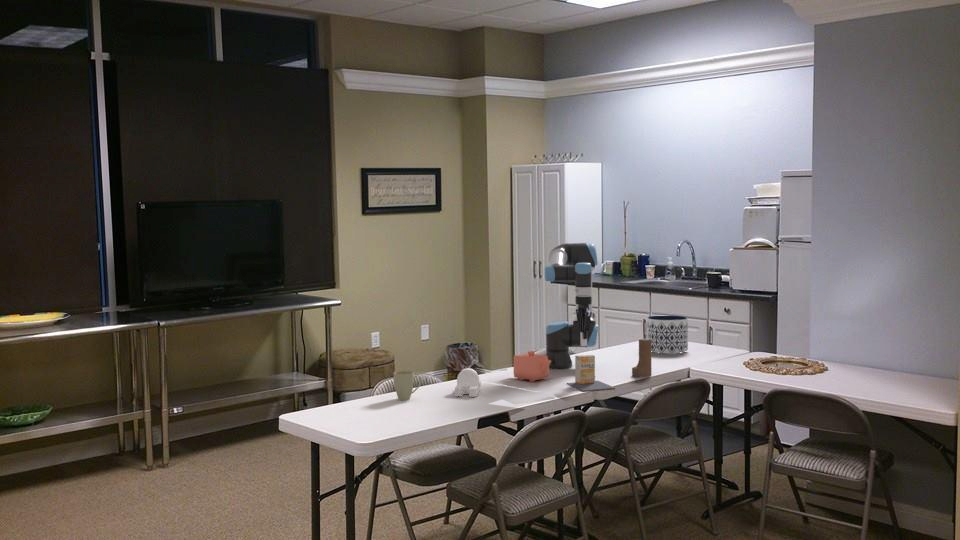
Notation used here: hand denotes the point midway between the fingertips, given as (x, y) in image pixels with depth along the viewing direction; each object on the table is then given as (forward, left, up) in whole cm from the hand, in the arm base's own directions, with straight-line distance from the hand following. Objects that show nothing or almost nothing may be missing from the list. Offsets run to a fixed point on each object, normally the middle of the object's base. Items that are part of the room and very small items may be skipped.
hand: (583, 345), depth 407 cm
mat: (+7, 0, -18) cm, 20 cm away
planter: (-61, +80, -18) cm, 102 cm away
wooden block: (-5, +33, -18) cm, 38 cm away
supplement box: (+1, 0, -18) cm, 18 cm away
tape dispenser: (-3, -56, -19) cm, 59 cm away
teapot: (-16, -20, -18) cm, 32 cm away
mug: (+1, -86, -18) cm, 88 cm away
